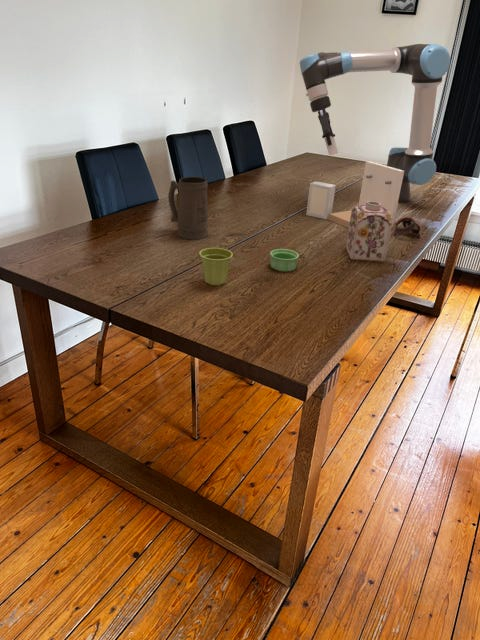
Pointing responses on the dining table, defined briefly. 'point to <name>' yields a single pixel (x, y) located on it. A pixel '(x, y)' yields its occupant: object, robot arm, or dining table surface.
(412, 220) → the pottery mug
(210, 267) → the plant pot
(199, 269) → the dining table surface
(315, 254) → the dining table surface
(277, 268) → the ramekin
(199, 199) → the beer stein
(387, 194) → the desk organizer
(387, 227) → the decorative jar
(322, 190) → the white block
